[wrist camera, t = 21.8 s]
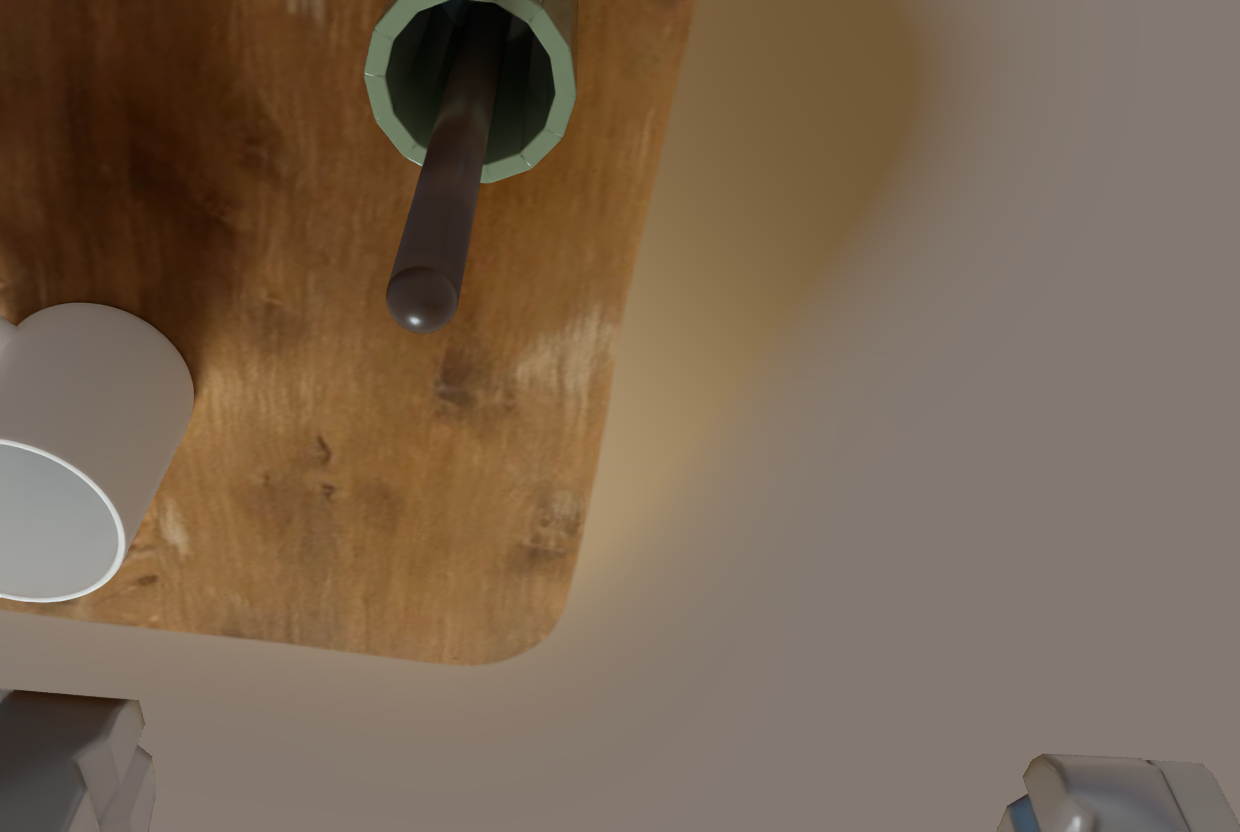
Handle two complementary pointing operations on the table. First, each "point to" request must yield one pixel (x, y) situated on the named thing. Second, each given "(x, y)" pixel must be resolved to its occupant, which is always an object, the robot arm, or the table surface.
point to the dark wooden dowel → (449, 180)
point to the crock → (527, 87)
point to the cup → (82, 443)
